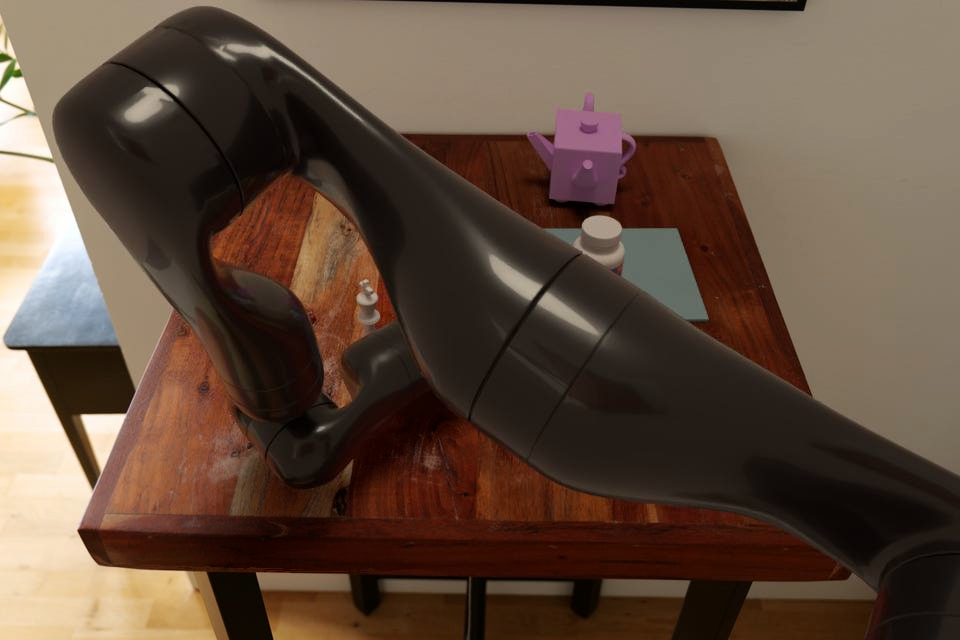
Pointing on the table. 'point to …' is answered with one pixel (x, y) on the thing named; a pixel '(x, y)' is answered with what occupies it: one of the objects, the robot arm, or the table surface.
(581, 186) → the teapot
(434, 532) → the table surface
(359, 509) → the table surface
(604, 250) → the pill bottle
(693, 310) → the cloth mat
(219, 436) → the table surface
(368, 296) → the chess piece
